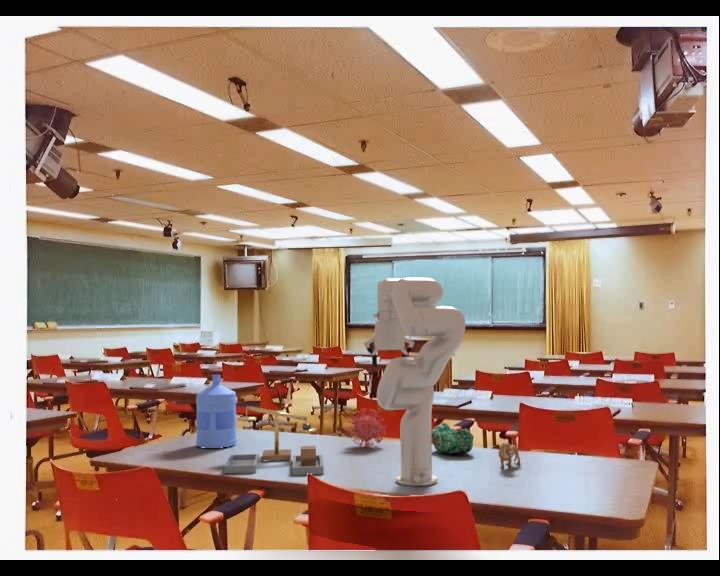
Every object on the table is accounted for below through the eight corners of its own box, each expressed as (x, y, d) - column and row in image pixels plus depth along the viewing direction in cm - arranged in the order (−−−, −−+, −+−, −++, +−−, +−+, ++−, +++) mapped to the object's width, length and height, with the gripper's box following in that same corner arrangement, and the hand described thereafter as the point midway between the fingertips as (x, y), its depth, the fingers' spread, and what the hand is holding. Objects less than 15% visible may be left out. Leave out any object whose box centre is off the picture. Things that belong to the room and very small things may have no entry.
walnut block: (316, 466, 219) (315, 448, 220) (300, 467, 219) (300, 449, 219) (315, 463, 224) (315, 445, 224) (300, 464, 224) (300, 446, 224)
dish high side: (255, 472, 216) (255, 465, 216) (224, 473, 215) (224, 466, 215) (259, 460, 234) (259, 453, 234) (230, 461, 233) (230, 454, 233)
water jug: (201, 442, 271) (201, 373, 272) (239, 441, 271) (239, 372, 272) (191, 449, 255) (191, 376, 257) (232, 449, 255) (231, 376, 257)
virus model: (371, 442, 266) (371, 404, 267) (393, 447, 254) (393, 408, 255) (340, 446, 258) (340, 408, 259) (362, 452, 246) (361, 412, 247)
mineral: (418, 452, 245) (418, 425, 245) (445, 446, 256) (444, 420, 256) (459, 459, 232) (459, 431, 232) (485, 452, 243) (484, 425, 243)
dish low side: (323, 474, 213) (323, 466, 213) (292, 475, 212) (292, 467, 212) (322, 462, 231) (322, 454, 231) (293, 463, 230) (293, 455, 230)
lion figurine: (513, 472, 212) (512, 444, 213) (496, 471, 214) (496, 443, 215) (522, 463, 225) (521, 436, 226) (506, 461, 228) (506, 435, 228)
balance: (316, 459, 235) (316, 405, 235) (235, 462, 232) (235, 407, 233) (316, 453, 245) (315, 402, 245) (238, 456, 242) (238, 404, 243)
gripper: (364, 316, 221) (365, 368, 221) (415, 316, 223) (416, 367, 222) (362, 316, 229) (363, 366, 228) (412, 316, 230) (412, 365, 230)
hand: (389, 366), depth 225 cm, fingers open, 9 cm apart
